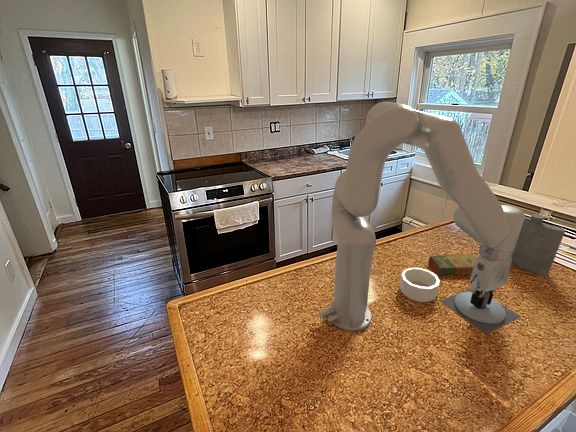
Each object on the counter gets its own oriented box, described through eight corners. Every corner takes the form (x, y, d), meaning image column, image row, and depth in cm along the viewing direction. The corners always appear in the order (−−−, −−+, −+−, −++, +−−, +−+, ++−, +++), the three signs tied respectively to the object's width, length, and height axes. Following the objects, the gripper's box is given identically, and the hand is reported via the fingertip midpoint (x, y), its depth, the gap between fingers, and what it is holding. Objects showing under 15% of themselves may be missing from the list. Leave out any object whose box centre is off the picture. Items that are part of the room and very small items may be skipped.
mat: (485, 335, 81) (486, 334, 81) (439, 302, 94) (440, 300, 94) (520, 318, 87) (521, 316, 87) (472, 288, 99) (473, 287, 99)
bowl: (417, 308, 92) (420, 292, 89) (392, 288, 101) (394, 273, 99) (443, 297, 96) (447, 282, 93) (417, 279, 105) (419, 264, 103)
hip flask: (549, 274, 106) (570, 222, 97) (544, 277, 104) (564, 225, 96) (502, 253, 118) (516, 206, 110) (496, 256, 117) (510, 209, 108)
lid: (485, 330, 82) (490, 313, 80) (444, 301, 93) (448, 285, 91) (515, 315, 87) (521, 298, 85) (473, 289, 98) (477, 274, 95)
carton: (483, 276, 106) (486, 266, 104) (437, 277, 106) (439, 267, 104) (470, 263, 114) (472, 253, 112) (427, 264, 114) (429, 254, 112)
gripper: (489, 264, 76) (472, 320, 83) (529, 249, 82) (510, 303, 89) (462, 250, 82) (449, 304, 90) (501, 237, 88) (486, 288, 96)
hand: (480, 303), depth 89 cm, fingers closed on lid, 3 cm apart
